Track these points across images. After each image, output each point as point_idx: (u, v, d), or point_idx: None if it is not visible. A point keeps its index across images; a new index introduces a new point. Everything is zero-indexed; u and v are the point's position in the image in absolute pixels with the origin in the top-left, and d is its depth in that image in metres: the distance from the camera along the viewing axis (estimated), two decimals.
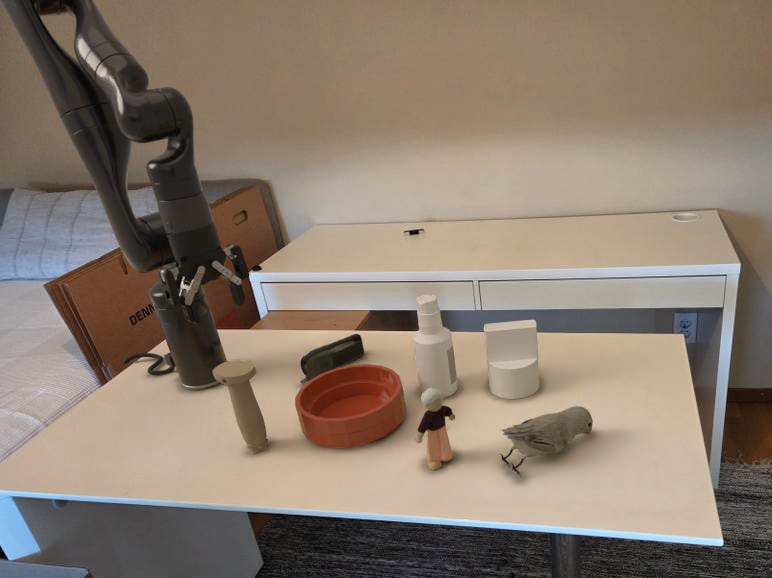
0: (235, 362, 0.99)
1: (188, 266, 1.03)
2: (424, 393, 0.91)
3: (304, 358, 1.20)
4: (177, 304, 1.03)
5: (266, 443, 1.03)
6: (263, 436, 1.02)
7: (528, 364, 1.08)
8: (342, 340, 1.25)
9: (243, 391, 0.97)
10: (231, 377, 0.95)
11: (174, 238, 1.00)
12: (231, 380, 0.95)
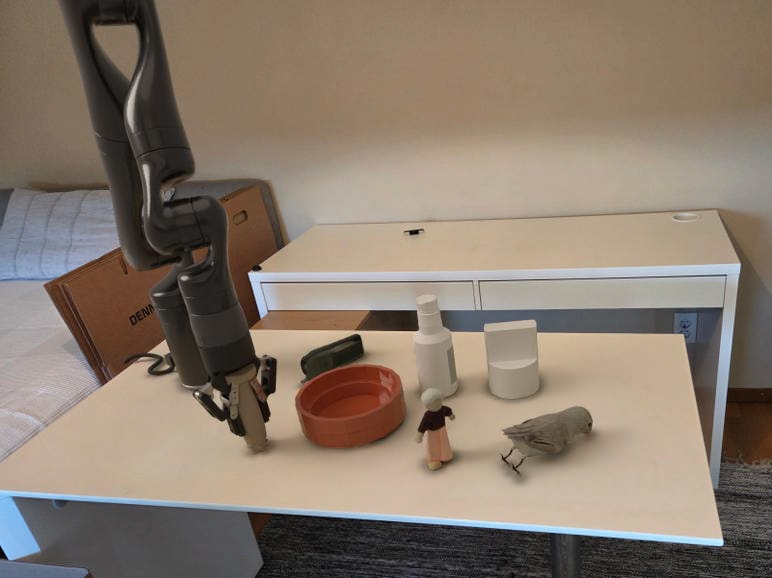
0: None
1: (221, 379, 0.94)
2: (424, 393, 0.91)
3: (304, 358, 1.20)
4: (224, 419, 0.96)
5: (266, 443, 1.03)
6: (263, 436, 1.02)
7: (528, 364, 1.08)
8: (342, 340, 1.25)
9: (243, 391, 0.97)
10: (232, 376, 0.95)
11: (207, 352, 0.92)
12: (231, 380, 0.95)
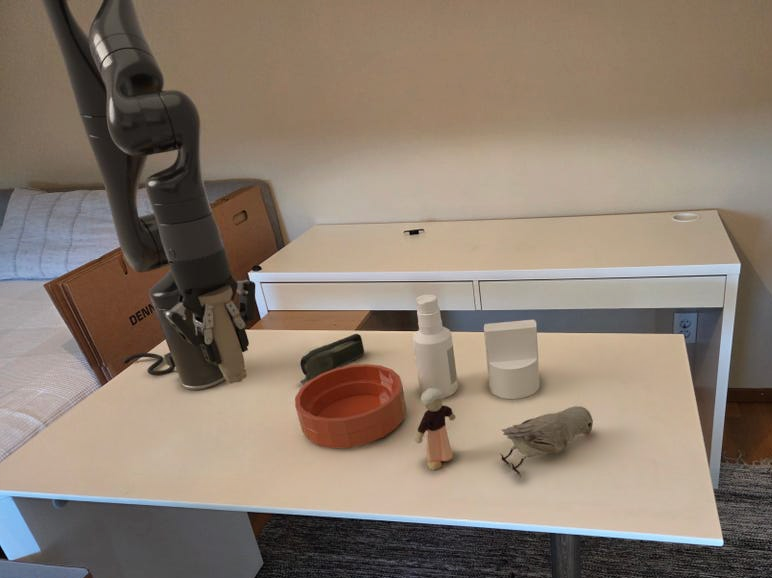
0: None
1: (194, 299, 0.88)
2: (424, 393, 0.91)
3: (304, 358, 1.20)
4: (197, 343, 0.90)
5: (244, 374, 0.97)
6: (241, 366, 0.96)
7: (528, 364, 1.08)
8: (342, 340, 1.25)
9: (218, 314, 0.91)
10: (205, 296, 0.88)
11: (178, 267, 0.85)
12: (205, 300, 0.89)
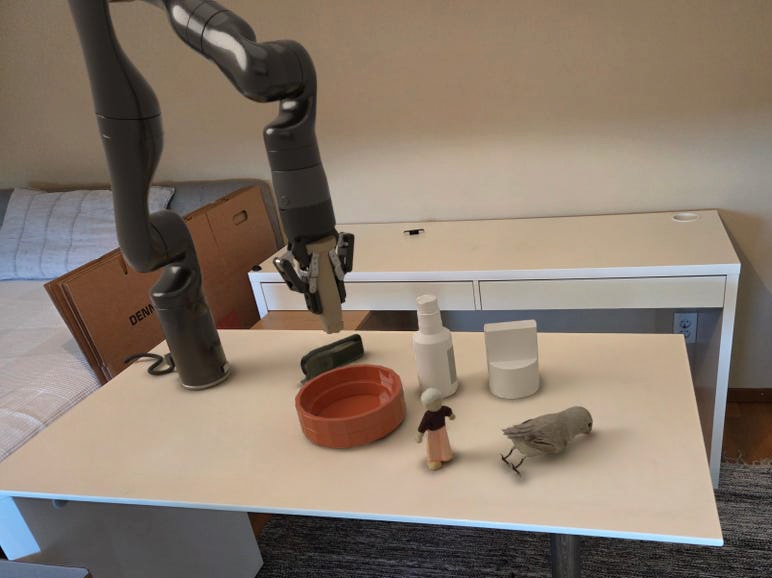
0: None
1: (302, 247, 0.91)
2: (424, 393, 0.91)
3: (304, 358, 1.20)
4: (303, 291, 0.92)
5: (342, 325, 1.00)
6: (340, 317, 0.98)
7: (528, 364, 1.08)
8: (342, 340, 1.25)
9: (323, 263, 0.93)
10: (313, 244, 0.91)
11: (290, 215, 0.88)
12: (312, 248, 0.91)
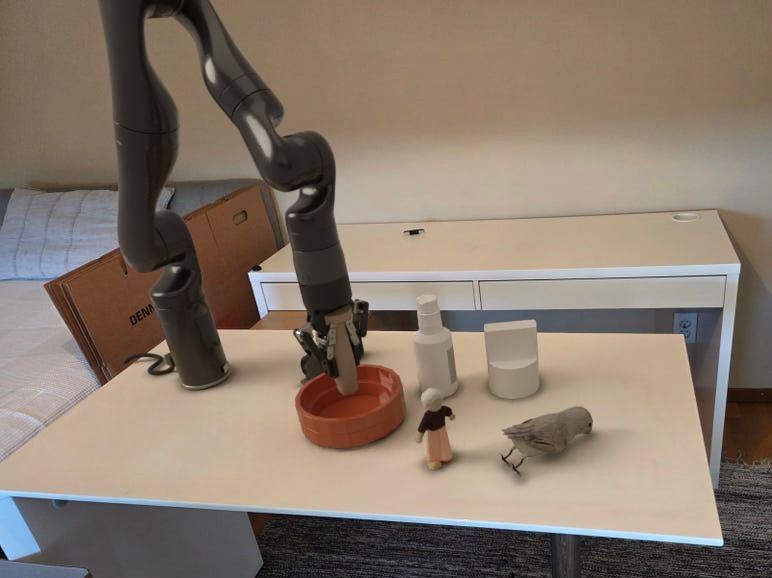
0: None
1: (320, 319, 0.96)
2: (424, 393, 0.91)
3: (304, 358, 1.20)
4: (321, 359, 0.98)
5: (357, 387, 1.05)
6: (355, 379, 1.04)
7: (528, 364, 1.08)
8: None
9: (340, 332, 0.99)
10: (331, 316, 0.96)
11: (310, 290, 0.93)
12: (330, 320, 0.97)
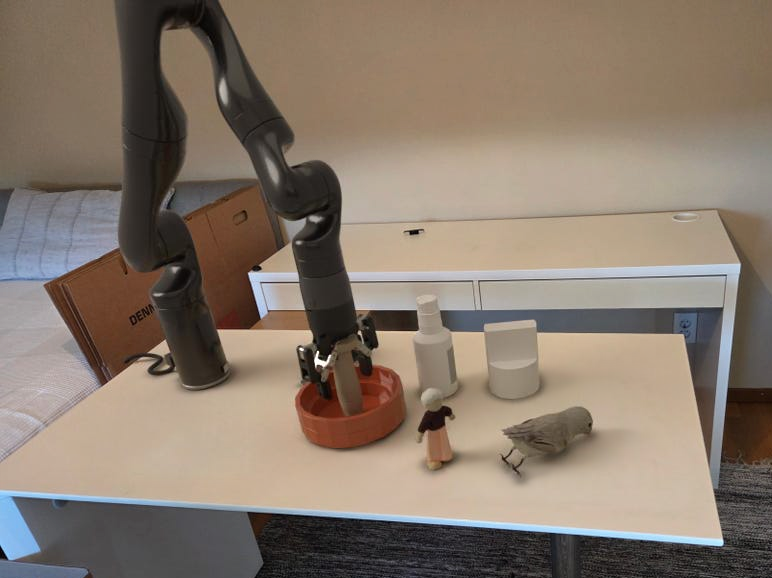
0: None
1: (326, 342, 0.98)
2: (424, 393, 0.91)
3: None
4: (314, 382, 0.98)
5: (362, 412, 1.08)
6: (360, 405, 1.06)
7: (528, 364, 1.08)
8: None
9: (346, 360, 1.01)
10: (337, 345, 0.99)
11: (316, 315, 0.95)
12: (337, 348, 0.99)
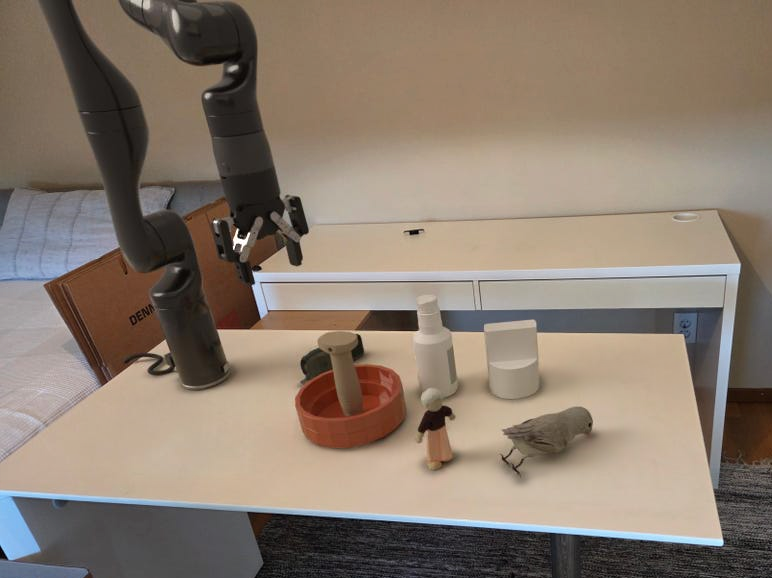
0: (337, 332, 1.03)
1: (244, 217, 0.89)
2: (424, 393, 0.91)
3: (304, 358, 1.20)
4: (231, 260, 0.89)
5: (362, 412, 1.08)
6: (360, 405, 1.06)
7: (528, 364, 1.08)
8: None
9: (346, 360, 1.01)
10: (337, 345, 0.99)
11: (231, 183, 0.86)
12: (337, 348, 0.99)
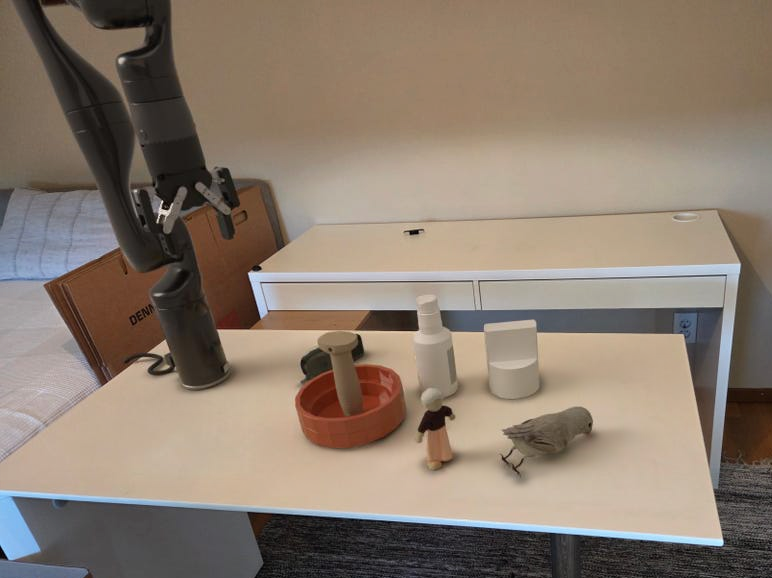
0: (337, 332, 1.03)
1: (167, 186, 0.87)
2: (424, 393, 0.91)
3: (304, 358, 1.20)
4: (154, 231, 0.87)
5: (362, 412, 1.08)
6: (360, 405, 1.06)
7: (528, 364, 1.08)
8: None
9: (346, 360, 1.01)
10: (337, 345, 0.99)
11: (150, 151, 0.85)
12: (337, 348, 0.99)
